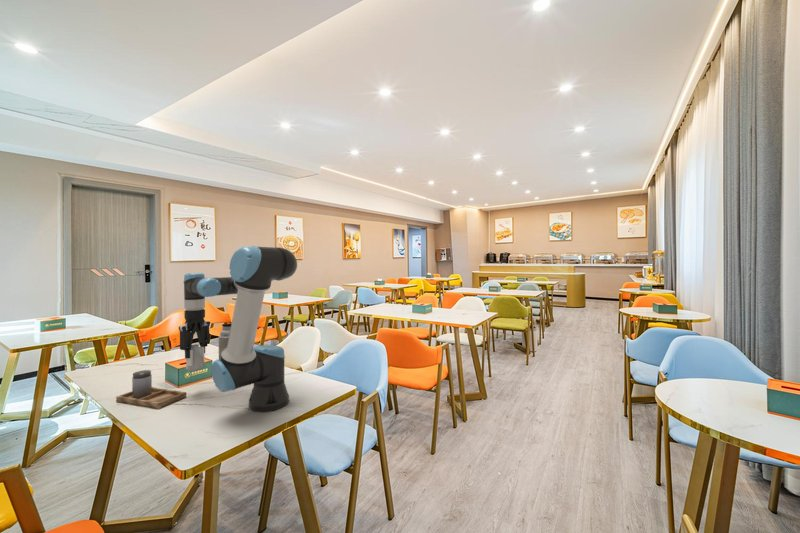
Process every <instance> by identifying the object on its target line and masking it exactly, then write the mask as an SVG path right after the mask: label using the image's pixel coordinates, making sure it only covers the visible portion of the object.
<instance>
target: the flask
mask: <svg viewBox="0 0 800 533" xmlns="http://www.w3.org/2000/svg"><path fill="white" fill-rule="evenodd" d="M199 346H200V345H199V344H192V346H191V350H193V366H185V369H184V370H185V371H188V372H194V371H196V372H197V371H198V370H202V369H204V368H206V363H205V361H204V362H203V360H202V358H201V356H200V353H199V350H198V347H199Z"/></svg>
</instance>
